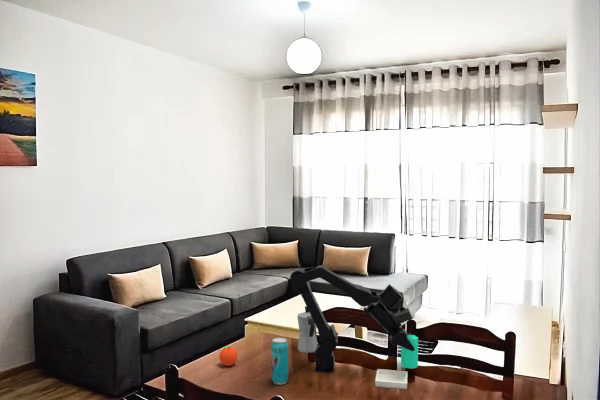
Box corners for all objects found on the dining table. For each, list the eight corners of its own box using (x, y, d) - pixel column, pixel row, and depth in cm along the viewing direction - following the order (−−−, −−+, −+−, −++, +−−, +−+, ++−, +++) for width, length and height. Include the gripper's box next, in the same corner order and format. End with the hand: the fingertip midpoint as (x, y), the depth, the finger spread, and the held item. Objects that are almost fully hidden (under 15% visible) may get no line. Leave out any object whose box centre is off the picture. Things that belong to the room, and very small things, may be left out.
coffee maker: (294, 345, 207) (293, 303, 207) (314, 343, 210) (313, 302, 209) (302, 357, 193) (302, 312, 192) (323, 355, 195) (323, 311, 194)
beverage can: (268, 381, 170) (268, 339, 170) (282, 377, 174) (281, 336, 173) (278, 387, 166) (277, 343, 165) (291, 382, 169) (291, 340, 169)
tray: (375, 386, 165) (375, 380, 165) (377, 374, 176) (377, 368, 176) (407, 389, 163) (407, 383, 163) (407, 376, 173) (407, 371, 173)
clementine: (213, 366, 184) (213, 348, 184) (223, 360, 191) (222, 342, 190) (232, 369, 181) (231, 350, 181) (241, 363, 188) (240, 344, 187)
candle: (418, 369, 174) (418, 336, 173) (400, 367, 175) (401, 334, 174) (417, 362, 180) (417, 330, 179) (400, 361, 181) (401, 329, 180)
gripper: (400, 308, 167) (433, 341, 166) (397, 295, 186) (426, 325, 185) (377, 329, 169) (409, 362, 168) (376, 314, 187) (405, 344, 186)
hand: (413, 347), depth 177 cm, fingers closed on candle, 5 cm apart
